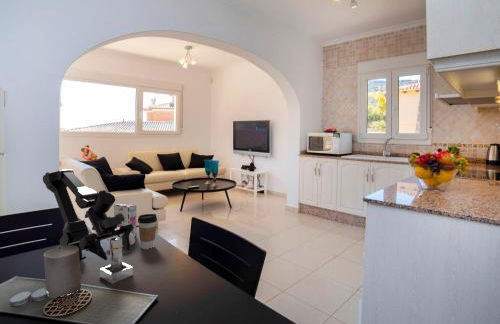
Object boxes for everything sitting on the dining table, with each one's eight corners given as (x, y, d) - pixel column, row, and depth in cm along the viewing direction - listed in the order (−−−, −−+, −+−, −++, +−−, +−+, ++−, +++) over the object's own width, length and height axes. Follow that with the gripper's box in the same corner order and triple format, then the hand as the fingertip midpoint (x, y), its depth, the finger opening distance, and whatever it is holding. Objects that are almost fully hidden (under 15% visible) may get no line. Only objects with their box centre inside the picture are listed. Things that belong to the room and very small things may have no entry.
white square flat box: (100, 276, 105) (99, 268, 105) (120, 269, 112) (120, 261, 112) (112, 283, 101) (112, 275, 101) (133, 275, 107) (132, 266, 107)
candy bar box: (137, 236, 148) (136, 205, 146) (129, 239, 143) (128, 207, 142) (122, 232, 153) (121, 202, 152) (113, 235, 149) (113, 204, 147)
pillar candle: (74, 280, 102) (72, 239, 101) (85, 290, 96) (83, 246, 95) (41, 292, 95) (38, 247, 93) (51, 303, 89) (49, 255, 87)
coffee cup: (153, 250, 130) (153, 218, 129) (134, 250, 130) (134, 217, 129) (159, 243, 139) (159, 213, 137) (142, 243, 139) (141, 212, 138)
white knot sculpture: (111, 253, 127) (111, 233, 126) (103, 245, 136) (102, 226, 135) (137, 246, 134) (137, 228, 134) (127, 239, 143) (127, 222, 143)
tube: (109, 273, 107) (108, 238, 106) (120, 270, 109) (120, 236, 108) (112, 277, 103) (111, 242, 102) (124, 274, 106) (123, 239, 105)
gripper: (82, 213, 98) (103, 251, 94) (130, 202, 114) (149, 235, 110) (71, 231, 103) (89, 269, 98) (118, 219, 119) (136, 251, 114)
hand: (118, 255), depth 105 cm, fingers open, 9 cm apart
